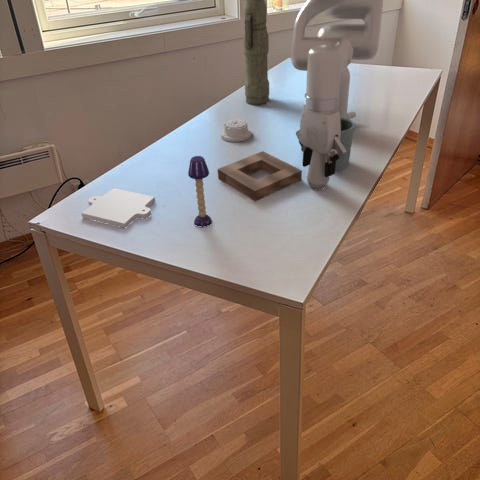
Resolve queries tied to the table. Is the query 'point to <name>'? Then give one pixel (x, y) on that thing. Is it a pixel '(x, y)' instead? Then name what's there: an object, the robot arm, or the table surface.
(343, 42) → the robot arm
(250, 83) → the green textured column
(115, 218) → the mounting plate
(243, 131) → the mechanical component
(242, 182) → the holder board
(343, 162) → the green embossed cup
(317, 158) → the salt shaker
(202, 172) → the toy lamp
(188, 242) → the table surface
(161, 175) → the table surface
